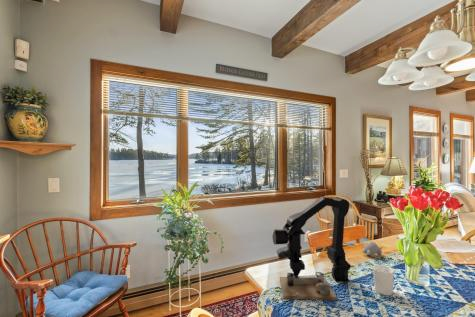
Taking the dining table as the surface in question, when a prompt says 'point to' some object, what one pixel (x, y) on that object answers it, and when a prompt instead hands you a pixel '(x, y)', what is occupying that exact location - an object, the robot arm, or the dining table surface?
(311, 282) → the lever
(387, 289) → the white cup
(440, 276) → the dining table surface
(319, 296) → the base
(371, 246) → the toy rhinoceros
